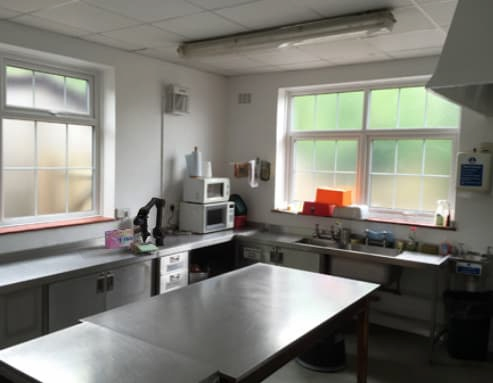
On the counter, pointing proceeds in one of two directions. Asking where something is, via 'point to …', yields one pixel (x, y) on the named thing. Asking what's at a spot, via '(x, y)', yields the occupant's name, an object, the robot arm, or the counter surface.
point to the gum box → (118, 238)
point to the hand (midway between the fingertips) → (144, 243)
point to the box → (136, 249)
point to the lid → (147, 247)
